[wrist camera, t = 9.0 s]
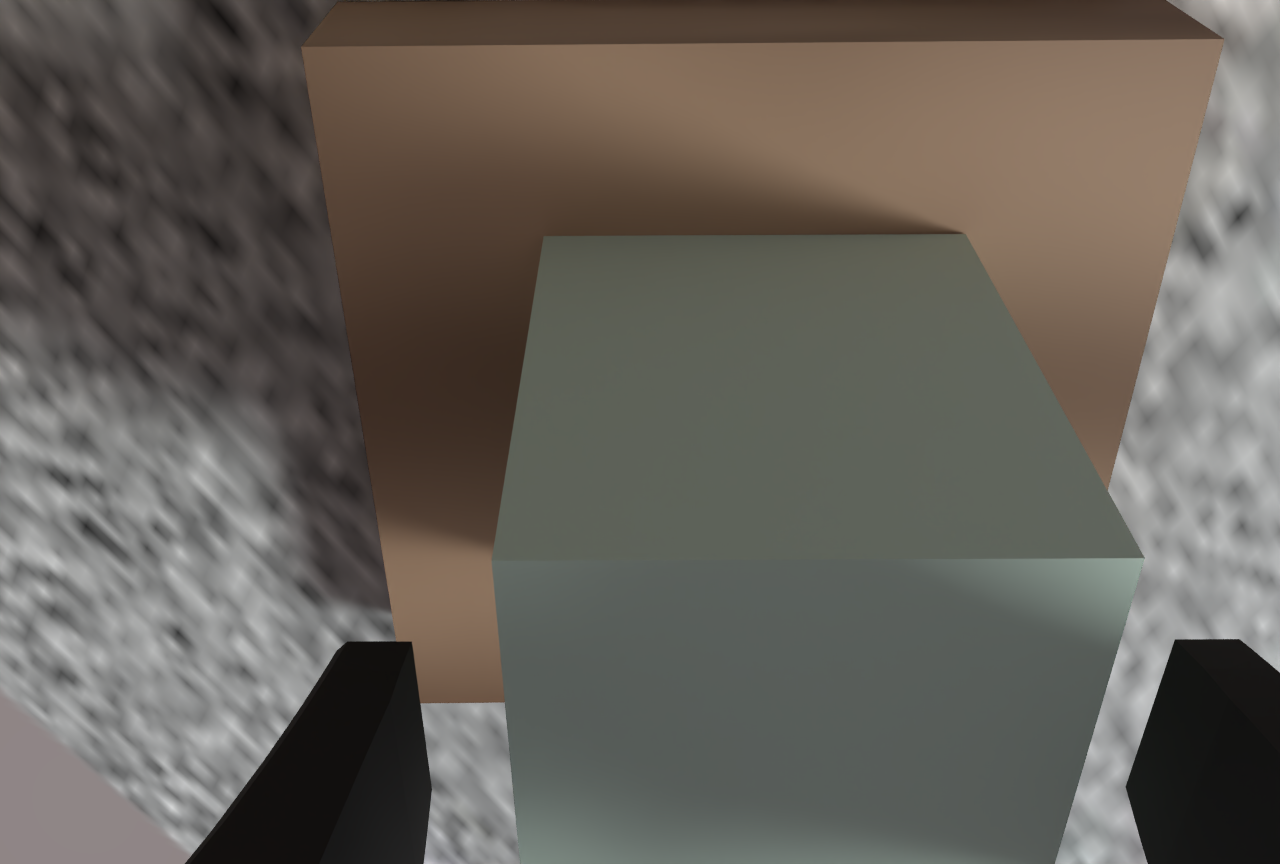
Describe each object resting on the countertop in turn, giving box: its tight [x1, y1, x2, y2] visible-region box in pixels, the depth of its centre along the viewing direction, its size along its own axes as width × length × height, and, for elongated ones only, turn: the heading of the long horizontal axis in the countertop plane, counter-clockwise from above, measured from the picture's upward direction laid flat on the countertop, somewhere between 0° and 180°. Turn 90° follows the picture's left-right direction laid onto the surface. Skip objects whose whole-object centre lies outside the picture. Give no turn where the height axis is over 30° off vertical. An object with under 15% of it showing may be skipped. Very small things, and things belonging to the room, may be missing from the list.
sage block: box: [492, 234, 1145, 864], centre depth 13 cm, size 5×5×6 cm
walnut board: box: [301, 0, 1224, 703], centre depth 17 cm, size 10×10×2 cm
